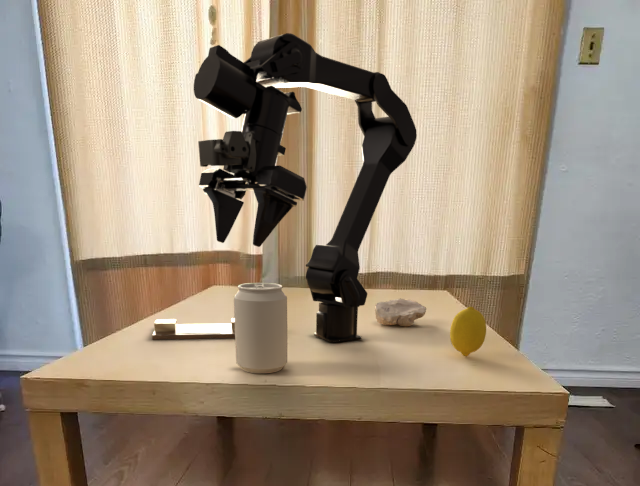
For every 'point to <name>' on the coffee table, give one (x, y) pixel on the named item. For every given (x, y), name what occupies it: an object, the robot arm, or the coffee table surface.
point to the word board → (191, 330)
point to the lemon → (468, 331)
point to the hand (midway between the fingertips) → (237, 244)
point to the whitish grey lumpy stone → (399, 312)
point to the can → (260, 327)
